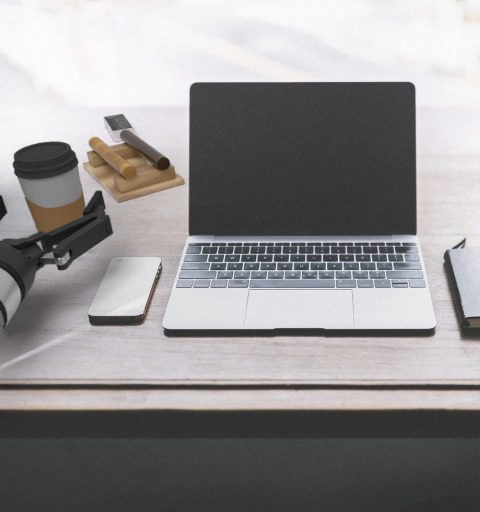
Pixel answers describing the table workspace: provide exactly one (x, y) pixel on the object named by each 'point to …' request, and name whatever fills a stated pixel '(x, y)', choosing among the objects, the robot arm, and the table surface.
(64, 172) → the coffee cup
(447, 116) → the table surface
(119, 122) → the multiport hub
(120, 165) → the rod rack
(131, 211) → the table surface
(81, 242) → the robot arm
